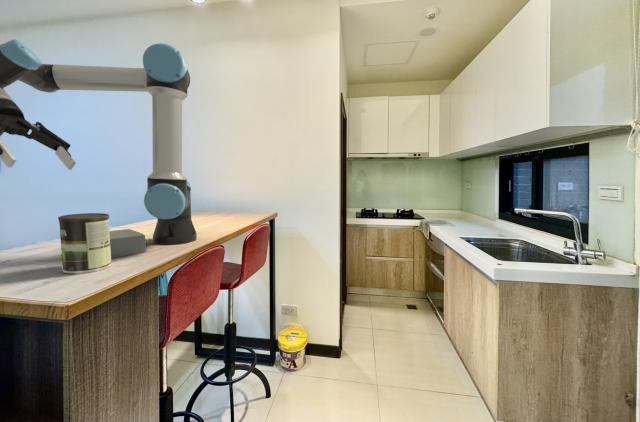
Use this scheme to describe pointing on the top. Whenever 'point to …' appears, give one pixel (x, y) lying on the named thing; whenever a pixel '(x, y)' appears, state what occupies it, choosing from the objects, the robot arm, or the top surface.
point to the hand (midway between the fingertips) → (45, 165)
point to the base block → (126, 242)
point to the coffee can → (85, 242)
